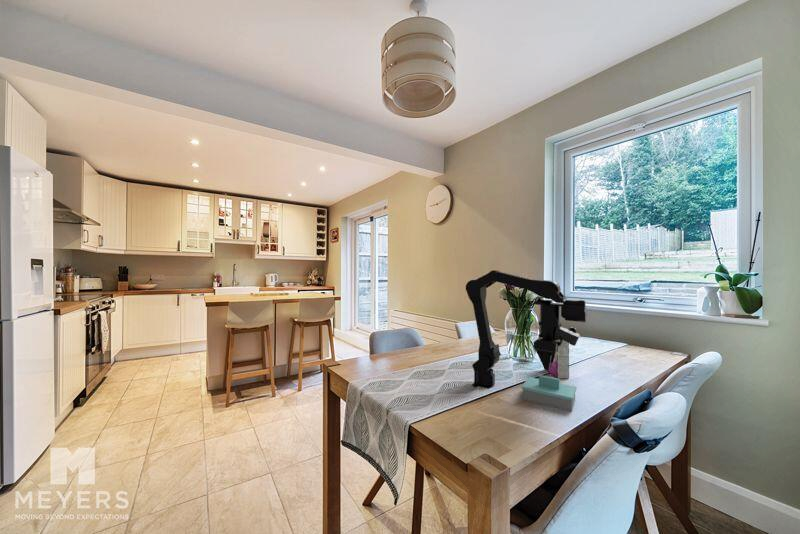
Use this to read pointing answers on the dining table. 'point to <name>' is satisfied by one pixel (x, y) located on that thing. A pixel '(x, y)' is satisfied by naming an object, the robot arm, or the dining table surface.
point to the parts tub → (548, 400)
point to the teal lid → (550, 387)
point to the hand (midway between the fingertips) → (549, 366)
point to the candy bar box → (561, 362)
